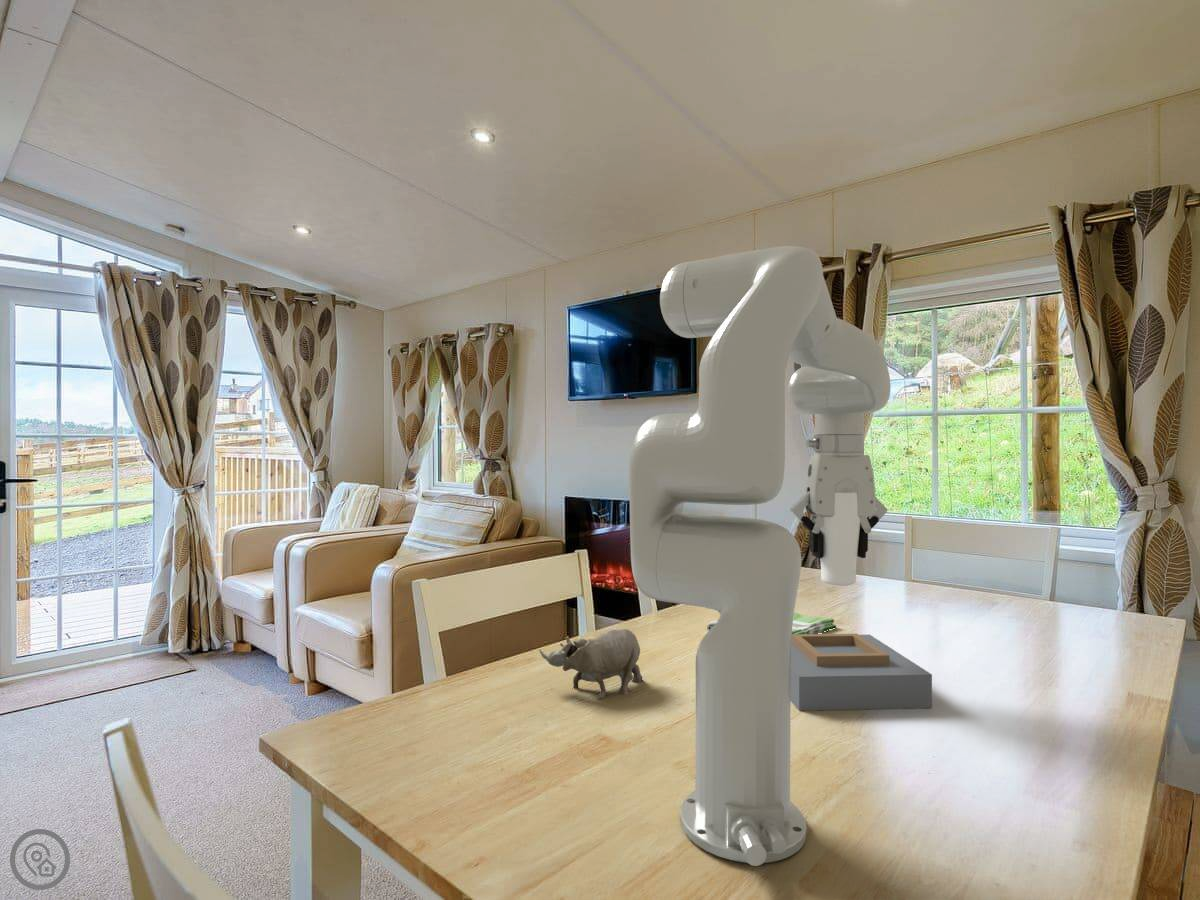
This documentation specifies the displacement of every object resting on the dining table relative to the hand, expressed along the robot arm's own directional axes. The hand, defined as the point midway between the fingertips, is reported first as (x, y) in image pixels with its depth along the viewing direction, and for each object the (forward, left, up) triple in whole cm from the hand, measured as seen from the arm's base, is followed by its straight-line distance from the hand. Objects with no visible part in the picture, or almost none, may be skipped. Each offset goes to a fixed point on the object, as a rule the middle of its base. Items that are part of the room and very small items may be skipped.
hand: (838, 555), depth 106 cm
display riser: (0, 0, -21) cm, 21 cm away
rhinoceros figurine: (-1, +39, -21) cm, 45 cm away
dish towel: (+31, +1, -22) cm, 38 cm away
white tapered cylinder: (0, 0, -5) cm, 5 cm away
